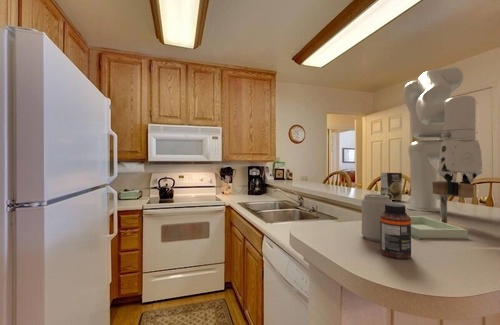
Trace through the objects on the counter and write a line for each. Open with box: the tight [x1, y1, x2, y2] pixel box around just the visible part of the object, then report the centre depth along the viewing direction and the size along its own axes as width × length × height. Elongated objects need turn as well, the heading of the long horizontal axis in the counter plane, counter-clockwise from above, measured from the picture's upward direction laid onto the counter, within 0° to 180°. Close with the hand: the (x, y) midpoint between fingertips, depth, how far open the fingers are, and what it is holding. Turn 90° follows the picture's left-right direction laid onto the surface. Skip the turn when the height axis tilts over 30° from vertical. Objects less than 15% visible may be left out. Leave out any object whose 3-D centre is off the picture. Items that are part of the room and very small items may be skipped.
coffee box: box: [380, 172, 403, 201], centre depth 138 cm, size 9×6×16 cm
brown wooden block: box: [432, 180, 475, 199], centre depth 78 cm, size 12×7×4 cm, turn 179°
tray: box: [409, 215, 469, 241], centre depth 73 cm, size 17×13×3 cm
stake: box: [436, 194, 473, 229], centre depth 81 cm, size 11×9×10 cm
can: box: [361, 193, 393, 243], centre depth 66 cm, size 8×8×12 cm
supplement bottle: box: [379, 202, 412, 260], centre depth 54 cm, size 6×6×11 cm
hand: (459, 194), depth 76 cm, fingers closed on brown wooden block, 3 cm apart
